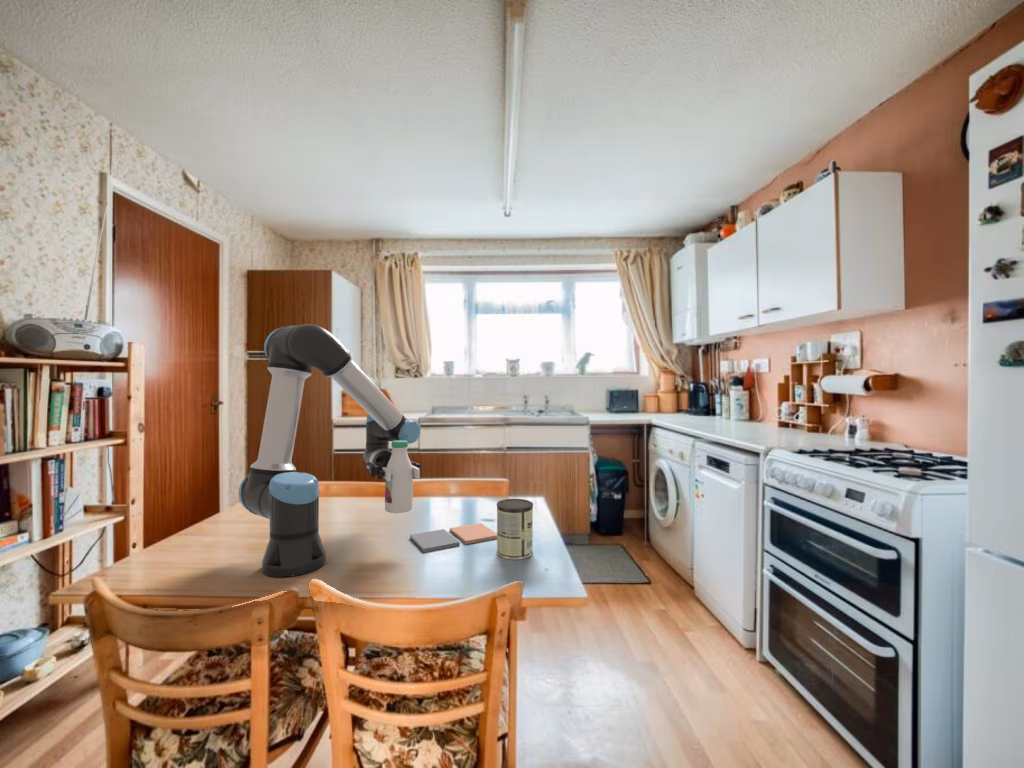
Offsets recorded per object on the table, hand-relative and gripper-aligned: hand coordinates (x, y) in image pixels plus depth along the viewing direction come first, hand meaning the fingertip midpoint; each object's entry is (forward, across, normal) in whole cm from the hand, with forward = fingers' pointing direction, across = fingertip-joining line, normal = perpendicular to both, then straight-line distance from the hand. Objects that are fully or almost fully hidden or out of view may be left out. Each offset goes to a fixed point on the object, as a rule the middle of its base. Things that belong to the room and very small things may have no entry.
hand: (404, 474), depth 128 cm
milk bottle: (-5, 0, -11) cm, 12 cm away
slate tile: (-5, -11, -22) cm, 25 cm away
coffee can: (+14, -28, -22) cm, 38 cm away
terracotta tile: (-5, -24, -22) cm, 33 cm away
